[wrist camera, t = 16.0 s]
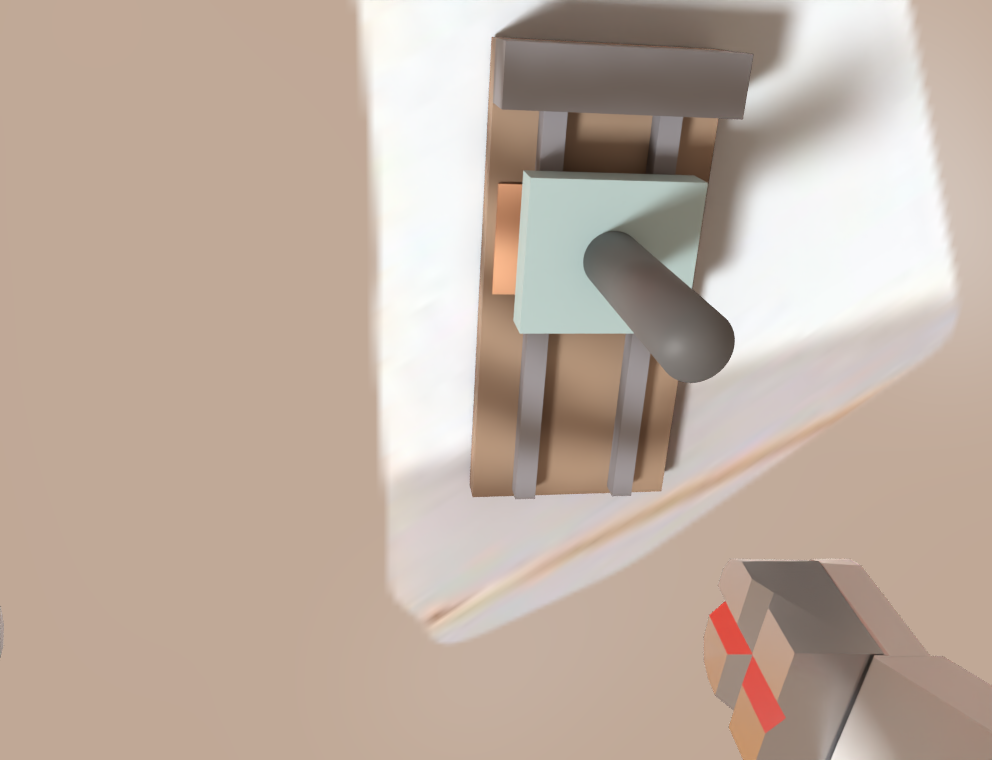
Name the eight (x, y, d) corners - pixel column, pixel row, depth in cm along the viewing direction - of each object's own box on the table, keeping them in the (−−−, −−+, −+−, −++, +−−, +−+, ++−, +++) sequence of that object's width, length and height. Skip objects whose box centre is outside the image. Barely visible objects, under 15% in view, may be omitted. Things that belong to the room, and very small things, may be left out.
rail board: (491, 36, 43) (505, 40, 39) (717, 49, 45) (753, 54, 41) (469, 484, 53) (479, 524, 49) (653, 479, 55) (677, 517, 51)
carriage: (523, 170, 43) (593, 242, 30) (693, 175, 44) (828, 245, 32) (513, 320, 46) (572, 442, 33) (672, 320, 47) (787, 437, 35)
